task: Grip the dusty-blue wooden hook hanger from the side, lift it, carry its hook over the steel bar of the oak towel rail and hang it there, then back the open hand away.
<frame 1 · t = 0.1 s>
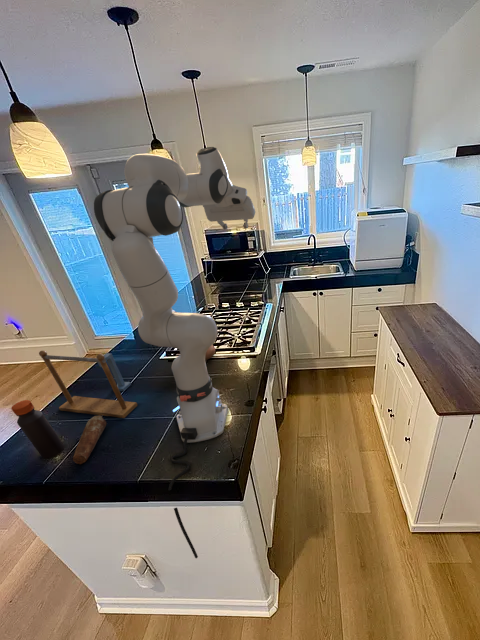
hand: (236, 228, 131), 54 cm above the countertop, tool tilted 30°, fingers open, 8 cm apart
rail stand: (98, 407, 125), on the countertop
hanger: (122, 387, 137), on the countertop
bread: (93, 445, 107), on the countertop
bottle: (53, 451, 106), on the countertop
ceramic jug: (201, 357, 155), on the countertop
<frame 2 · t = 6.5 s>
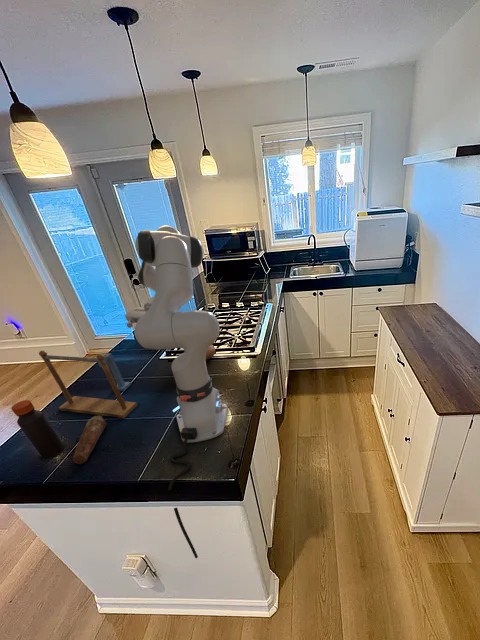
hand: (137, 327, 139), 20 cm above the countertop, tool horizontal, fingers open, 8 cm apart
nothing on the countertop moved.
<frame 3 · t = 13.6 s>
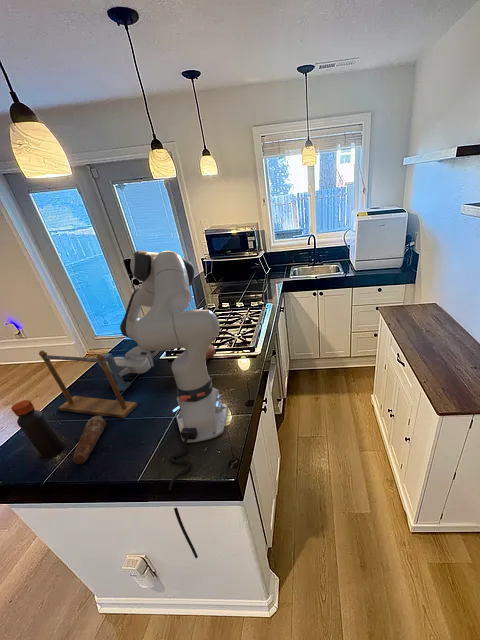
hand: (115, 374, 132), 7 cm above the countertop, tool horizontal, fingers closed on hanger, 2 cm apart
hanger: (122, 387, 137), on the countertop, touching gripper
everything else where it was.
when the fingers open (15 cm above the countertop, at t = 19.4 s): hanger stays where it is, resting on rail stand.
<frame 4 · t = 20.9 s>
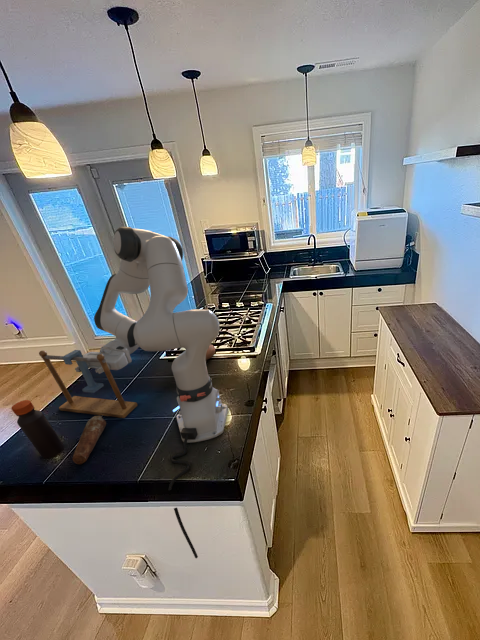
hand: (87, 371, 119), 15 cm above the countertop, tool horizontal, fingers open, 8 cm apart
hanger: (93, 388, 123), point 8 cm above the countertop, touching rail stand
everything else where it was.
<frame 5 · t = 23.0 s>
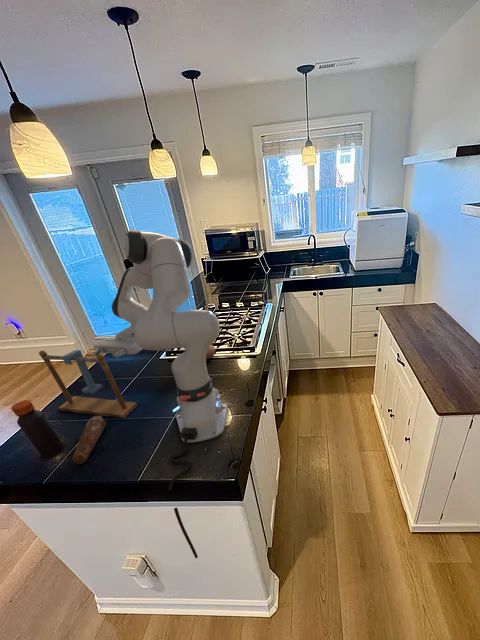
hand: (104, 355, 126), 17 cm above the countertop, tool horizontal, fingers open, 8 cm apart
nothing on the countertop moved.
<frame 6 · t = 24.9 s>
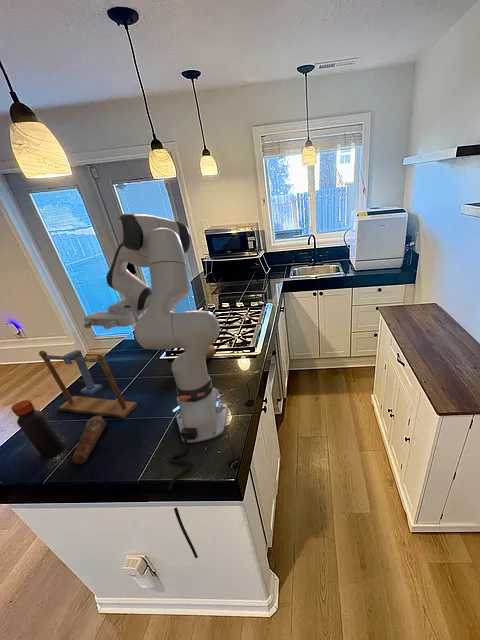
hand: (95, 327, 121), 28 cm above the countertop, tool horizontal, fingers open, 8 cm apart
nothing on the countertop moved.
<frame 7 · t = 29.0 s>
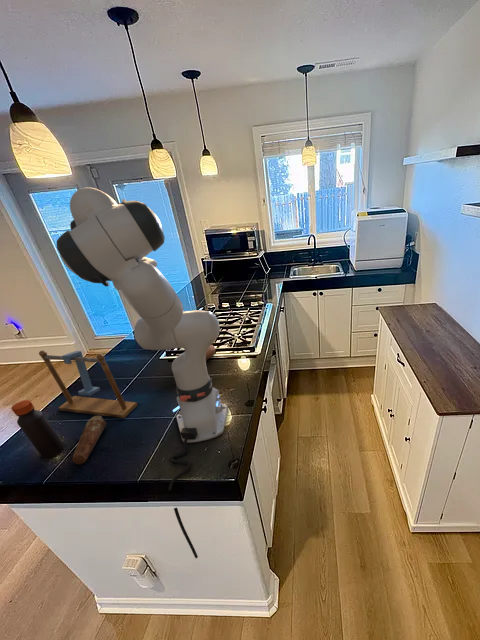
hand: (144, 300, 122), 35 cm above the countertop, tool pointing down, fingers open, 8 cm apart
hanger: (89, 392, 121), point 8 cm above the countertop, tilted 11°, touching rail stand
everything else where it was.
at the end: hanger touching rail stand; hanger point 7.9 cm above the countertop; hanger 1.9 cm from the rail stand (horizontally) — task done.
